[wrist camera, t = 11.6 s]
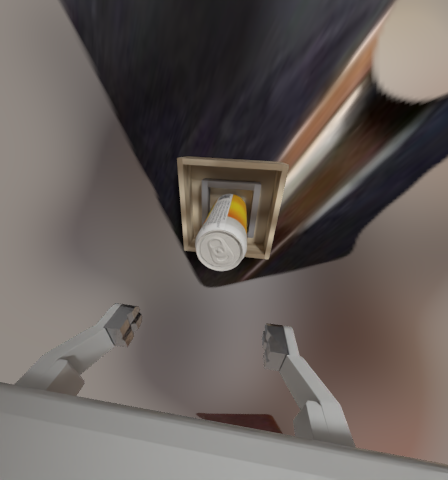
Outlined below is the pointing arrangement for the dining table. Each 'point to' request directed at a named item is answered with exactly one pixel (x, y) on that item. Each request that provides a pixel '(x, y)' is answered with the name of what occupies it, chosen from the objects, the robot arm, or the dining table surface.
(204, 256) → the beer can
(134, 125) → the dining table surface
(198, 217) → the crate
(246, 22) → the dining table surface
